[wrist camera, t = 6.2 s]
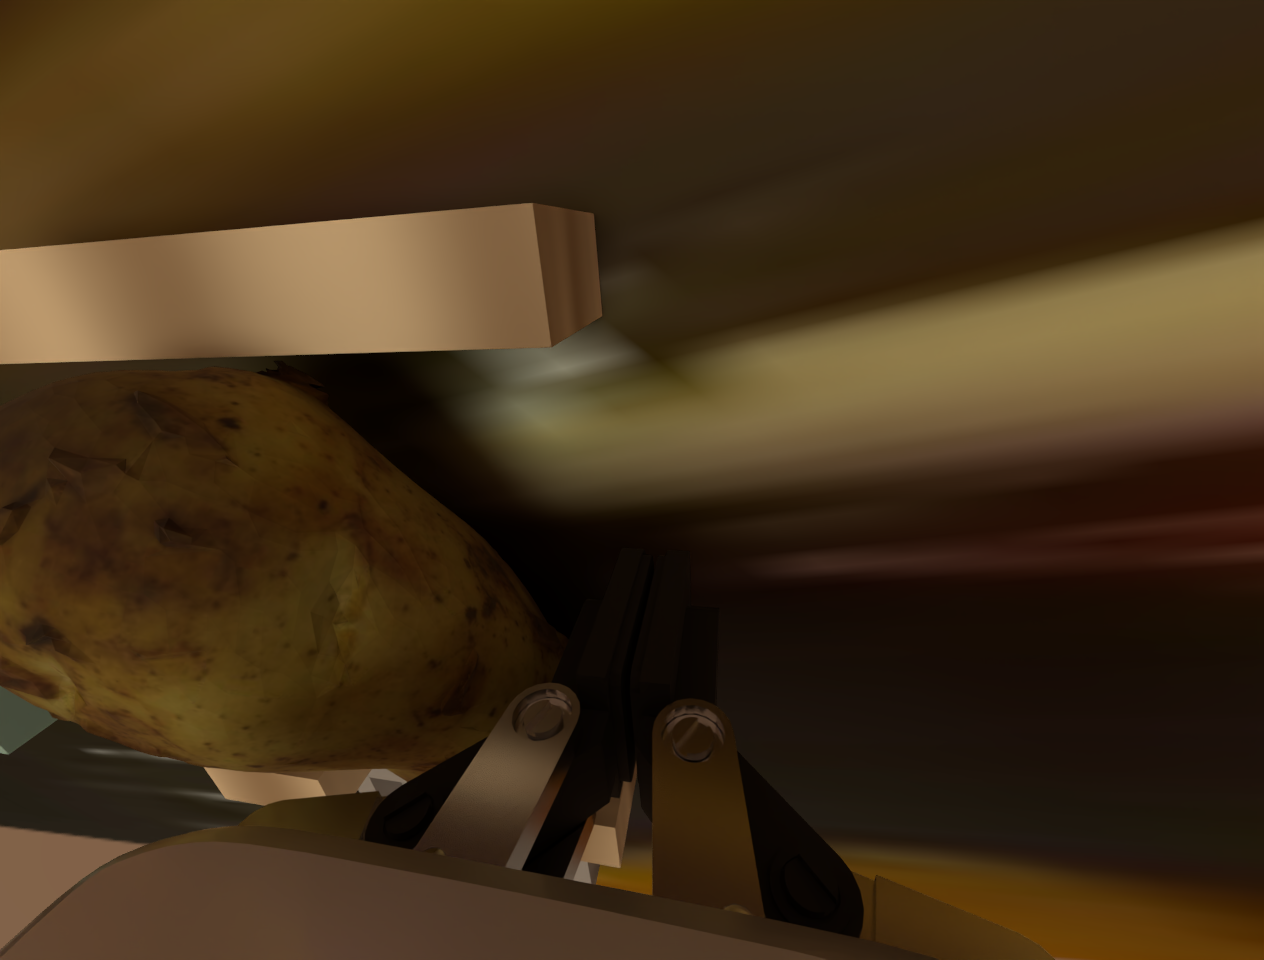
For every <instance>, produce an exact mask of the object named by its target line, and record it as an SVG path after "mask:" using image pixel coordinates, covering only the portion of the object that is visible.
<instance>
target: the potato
mask: <svg viewBox="0 0 1264 960" xmlns="http://www.w3.org/2000/svg"><path fill="white" fill-rule="evenodd" d="M274 362H275V363H276V364H277V366H278V369H277V370H269V369H267V368H266V370H267V372H264V371H260V372H257V373H255V372H251V371H245V370H238V369H231V368H223V367H216V366H214V367H207V368H204V369H200V370H187V371H160V370H118V371H106V372H94V373H89V374H85V375H80V376H75V377H71V378H67V379H64V380H60V381H56V382H53V383H50V384H48V385H45V386H43V387H40V388H37V389H35V390H32V391H30V392H28V393H26V394H24V395H22V396H20V397H17V398H15V399H13V400H11V401H9V402H7V403H5V404H3V405H1V406H0V686H1V687H3V688H5V689H6V690H8V691H10V692H12V693H13V694H15V695H17V696H18V697H20V698H22V699H24V700H25V701H27V702H29V703H30V704H32V705H34V706H36V707H39V708H41V709H44V710H47V711H48V712H49V713H50V715H51V716H52V718H56V719H60V720H65V721H73V722H75V723H78V724H79V725H80V726H81V727H82V728H84V729H85V730H86V731H87V732H89V733H92V734H95V735H97V736H100V737H103V738H106V739H109V740H112V741H115V742H117V743H120V744H123V745H125V746H128V747H130V748H132V749H135V750H137V751H140V752H143V753H147V754H150V755H154V756H158V757H168V758H172V759H176V760H181V761H184V762H186V763H188V764H193V765H197V766H202V767H207V768H218V769H226V770H234V771H242V772H259V773H282V772H315V771H337V770H359V769H387V770H389V771H391V772H392V773H394V774H395V775H397V776H399V777H400V778H402V779H403V780H405V781H407V782H408V781H410V780H412V779H414V778H415V777H417V776H419V775H421V774H422V773H424V772H426V771H428V770H430V769H431V768H433V767H435V766H437V765H438V764H440V763H442V762H444V761H445V760H447V759H449V758H451V757H452V756H454V755H456V754H458V753H460V752H461V751H463V750H465V749H467V748H468V747H470V746H472V745H474V744H475V743H477V742H479V741H481V740H483V739H484V738H486V737H488V736H489V735H490V733H491V732H492V730H493V729H494V727H495V726H496V724H497V723H498V721H499V719H500V718H501V716H502V715H503V713H504V712H505V710H506V709H507V707H508V706H509V704H510V703H511V702H512V701H513V700H514V699H515V697H516V696H517V695H519V694H520V693H522V692H523V691H524V690H526V689H527V688H530V687H532V686H535V685H537V684H543V683H551V682H552V679H553V677H554V674H555V672H556V669H557V667H558V665H559V662H560V660H561V657H562V655H563V652H564V650H565V648H566V645H567V643H568V640H569V639H568V638H567V637H566V636H565V635H563V634H561V633H559V632H557V631H556V629H555V628H554V627H553V626H551V625H549V624H548V623H547V621H546V619H545V618H544V616H543V614H542V613H541V611H540V609H539V608H538V606H537V604H536V603H535V601H534V599H533V598H532V596H531V595H530V593H529V592H528V590H527V589H526V588H525V586H524V585H523V584H522V582H521V581H520V580H519V578H518V577H517V576H516V574H515V573H514V572H513V570H512V569H511V568H510V566H509V565H508V564H507V563H506V562H505V561H504V560H503V559H502V558H501V557H500V556H499V555H498V552H497V551H496V550H494V549H493V548H492V547H491V546H490V544H489V543H488V542H487V541H486V540H485V539H484V538H483V537H482V536H481V535H479V534H478V533H477V532H476V531H475V530H474V529H473V528H471V527H470V526H469V525H468V524H467V523H466V522H465V521H463V520H462V519H460V518H459V517H458V516H457V515H455V514H454V513H453V512H451V511H450V510H449V509H448V508H446V507H445V506H444V505H442V504H441V503H440V502H439V501H437V500H436V499H435V498H434V497H432V496H431V495H430V494H428V493H427V492H426V491H425V490H423V489H422V488H421V487H419V486H418V485H417V484H416V483H415V482H413V481H412V480H411V479H410V478H409V477H407V476H406V475H405V474H404V473H403V472H401V471H400V470H399V469H398V468H397V467H395V466H394V465H393V464H392V463H391V462H390V461H389V460H387V459H386V458H385V457H384V456H383V455H382V454H381V453H379V452H378V451H377V450H376V449H375V448H374V447H373V446H372V445H370V444H369V443H368V442H367V441H366V440H365V439H364V438H363V437H362V436H361V435H359V434H358V433H357V432H356V431H355V430H354V429H353V428H352V427H351V426H350V425H348V424H347V423H346V422H345V421H344V420H343V419H342V418H341V417H339V416H338V415H337V414H336V413H335V412H333V411H332V410H331V409H330V408H329V407H328V397H329V395H328V394H326V393H324V392H322V391H320V390H317V388H320V387H325V386H324V385H322V384H321V383H319V382H318V381H316V380H315V379H313V378H312V377H311V376H309V375H307V374H305V373H303V372H301V371H299V370H297V369H294V368H293V367H291V366H288V365H286V364H285V363H284V362H283V361H274Z"/></svg>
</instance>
